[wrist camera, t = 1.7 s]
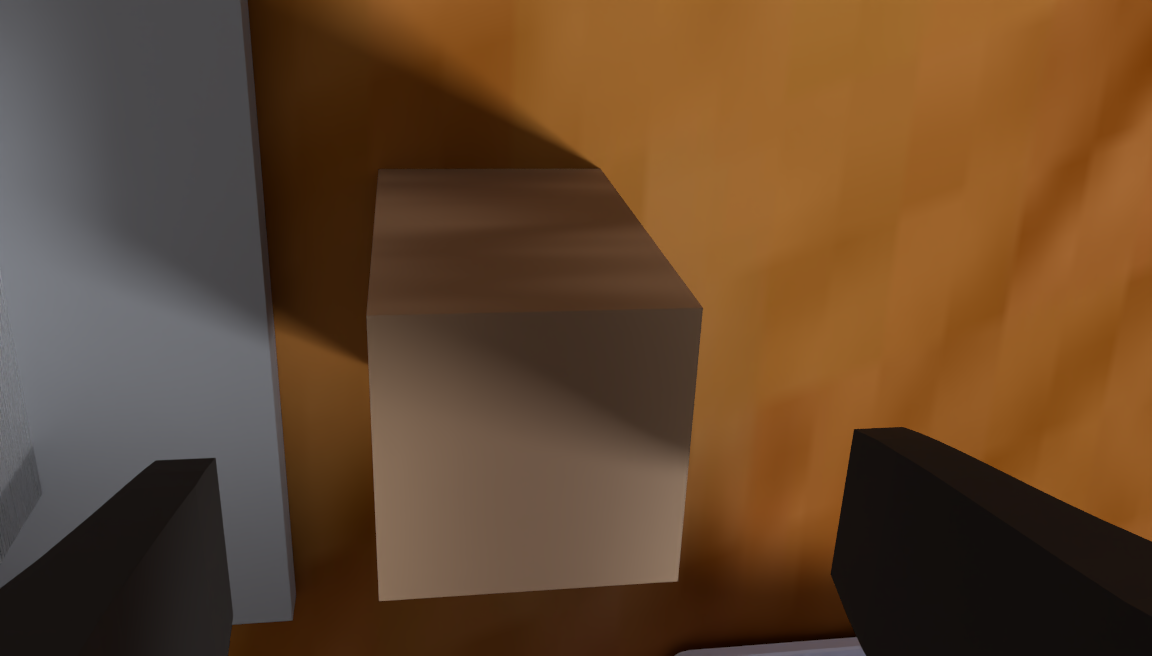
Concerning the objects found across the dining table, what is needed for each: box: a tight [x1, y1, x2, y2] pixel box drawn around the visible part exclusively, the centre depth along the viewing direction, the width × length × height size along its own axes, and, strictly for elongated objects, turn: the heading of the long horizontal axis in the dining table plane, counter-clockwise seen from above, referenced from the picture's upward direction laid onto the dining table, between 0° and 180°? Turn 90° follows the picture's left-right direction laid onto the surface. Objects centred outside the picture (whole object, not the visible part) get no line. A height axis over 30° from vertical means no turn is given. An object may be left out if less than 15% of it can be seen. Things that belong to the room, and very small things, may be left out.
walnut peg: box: [366, 169, 703, 601], centre depth 16 cm, size 4×4×7 cm
